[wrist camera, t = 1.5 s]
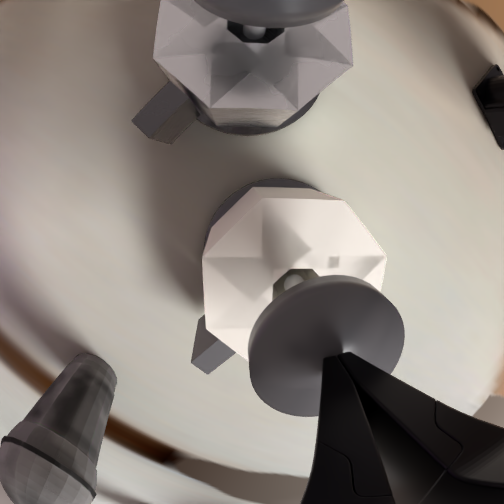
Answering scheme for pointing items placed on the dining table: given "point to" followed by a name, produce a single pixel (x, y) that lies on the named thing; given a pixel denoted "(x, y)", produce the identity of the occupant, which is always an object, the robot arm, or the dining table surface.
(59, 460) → the beverage cup
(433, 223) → the dining table surface
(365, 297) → the cream plunger
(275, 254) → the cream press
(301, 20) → the steel plunger
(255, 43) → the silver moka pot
